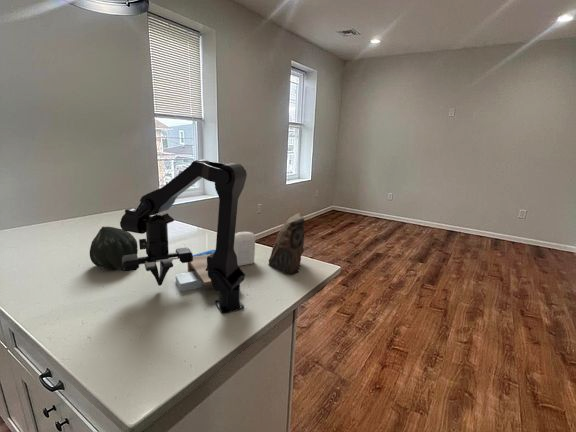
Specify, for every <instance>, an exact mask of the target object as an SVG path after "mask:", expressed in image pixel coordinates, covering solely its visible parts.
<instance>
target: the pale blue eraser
mask: <svg viewBox="0 0 576 432" xmlns="http://www.w3.org/2000/svg"><path fill="white" fill-rule="evenodd" d="M174 275H175V283H176V284H177V288H178V289H179V291H180V292H184V291H190V290H194V289H199V288H202V285H204V284H203V283H202V281H201V280H200V278H199V277H198V275H197V274H196V272H195V271H192V272H188V271H187V272H182V273H176V274H174Z"/></svg>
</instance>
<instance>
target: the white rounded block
mask: <svg viewBox="0 0 576 432" xmlns="http://www.w3.org/2000/svg"><path fill="white" fill-rule="evenodd" d="M255 248H256V235H255V233H253V232H252V231H239V232H235V239H234V251H235V254H236V256H237V264H238V266H239V267H241V266H245V265H252V264H253V263H255V255H256V254H255V253H256V249H255Z"/></svg>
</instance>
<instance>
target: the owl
mask: <svg viewBox="0 0 576 432" xmlns="http://www.w3.org/2000/svg"><path fill="white" fill-rule="evenodd" d="M305 225H306V220H305V219H304V217H303V216H302V213H301V212H300V211H299V212H298V213H296V214H294V215H292V216H291V217H289V219H287V220H286V221H285V223H284V224H283V225H282V226H281V228H280V230H279V232H278V234H277V238H276V240H275V242H274V244H273V246H272V248H271V253H270V257H269V259H268V264H267V266H269V267H271V268H273V269H275V270H277V271H278V272H281V273H282V274H284V275H287V276H294V275H297V274H299V273H300V271H299V270H301V269H300V267H301V262H302V255H303V254H304V251H305V249H304V244H305V243H304V242H305V235H306V234H305V232H304V230H305Z"/></svg>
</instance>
